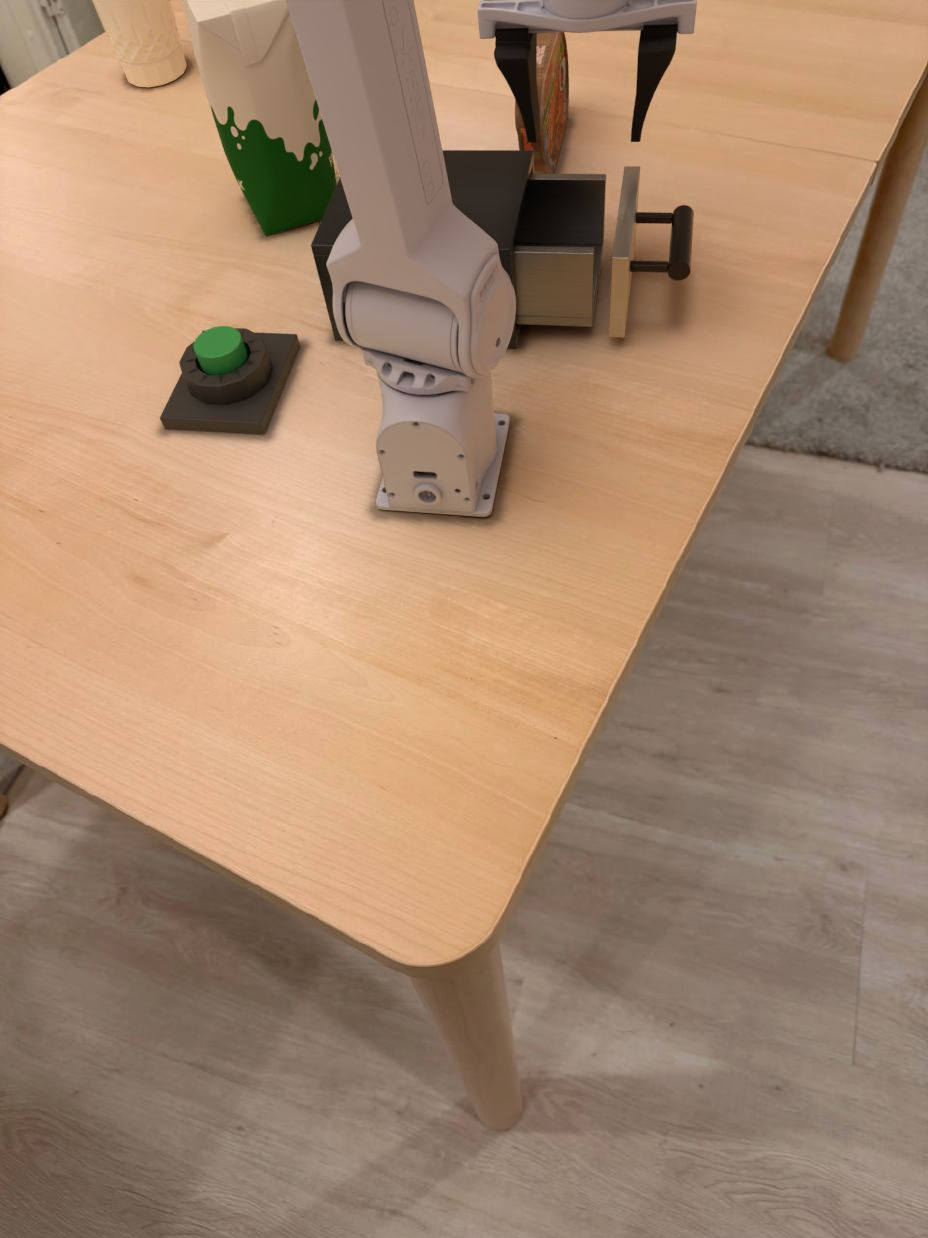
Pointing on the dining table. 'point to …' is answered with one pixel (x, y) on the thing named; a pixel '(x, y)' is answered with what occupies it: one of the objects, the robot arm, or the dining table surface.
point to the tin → (548, 102)
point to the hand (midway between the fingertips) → (584, 135)
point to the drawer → (585, 249)
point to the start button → (220, 350)
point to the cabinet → (478, 189)
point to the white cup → (143, 39)
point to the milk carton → (264, 108)
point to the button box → (233, 388)
